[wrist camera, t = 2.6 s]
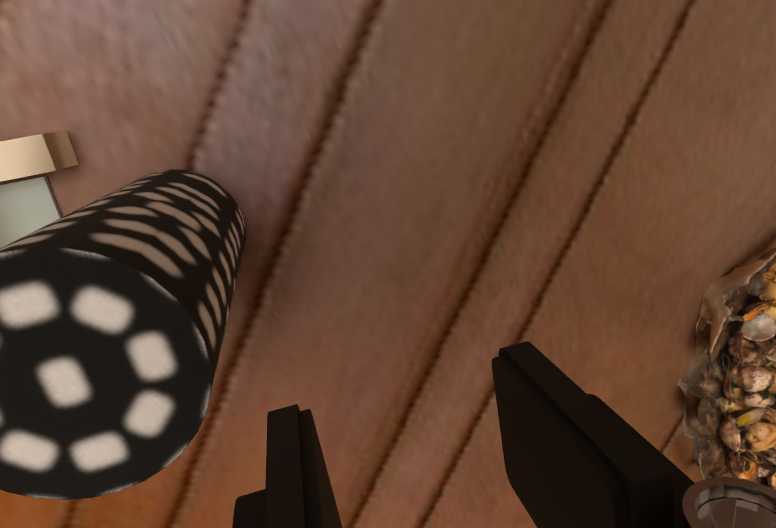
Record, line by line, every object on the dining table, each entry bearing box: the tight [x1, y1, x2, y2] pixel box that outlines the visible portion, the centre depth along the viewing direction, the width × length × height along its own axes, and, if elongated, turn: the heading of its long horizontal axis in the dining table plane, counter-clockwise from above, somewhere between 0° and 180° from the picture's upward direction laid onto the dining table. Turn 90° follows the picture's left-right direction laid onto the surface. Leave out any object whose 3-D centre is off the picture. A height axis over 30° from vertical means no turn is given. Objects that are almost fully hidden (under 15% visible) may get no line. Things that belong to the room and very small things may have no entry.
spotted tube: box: [0, 170, 246, 500], centre depth 25 cm, size 8×8×20 cm
